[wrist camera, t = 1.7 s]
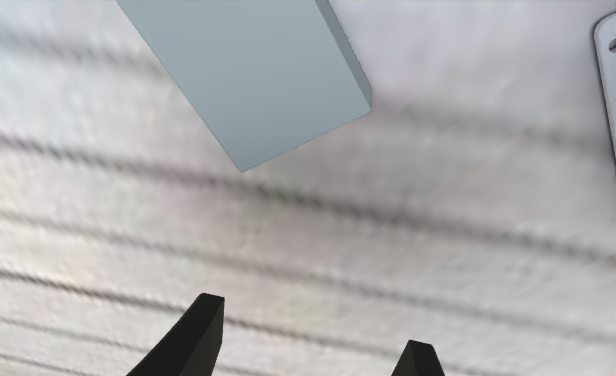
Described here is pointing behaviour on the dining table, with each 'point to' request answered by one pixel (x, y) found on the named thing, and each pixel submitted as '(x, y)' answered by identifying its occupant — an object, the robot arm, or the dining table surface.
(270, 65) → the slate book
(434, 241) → the dining table surface
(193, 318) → the robot arm
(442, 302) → the dining table surface
